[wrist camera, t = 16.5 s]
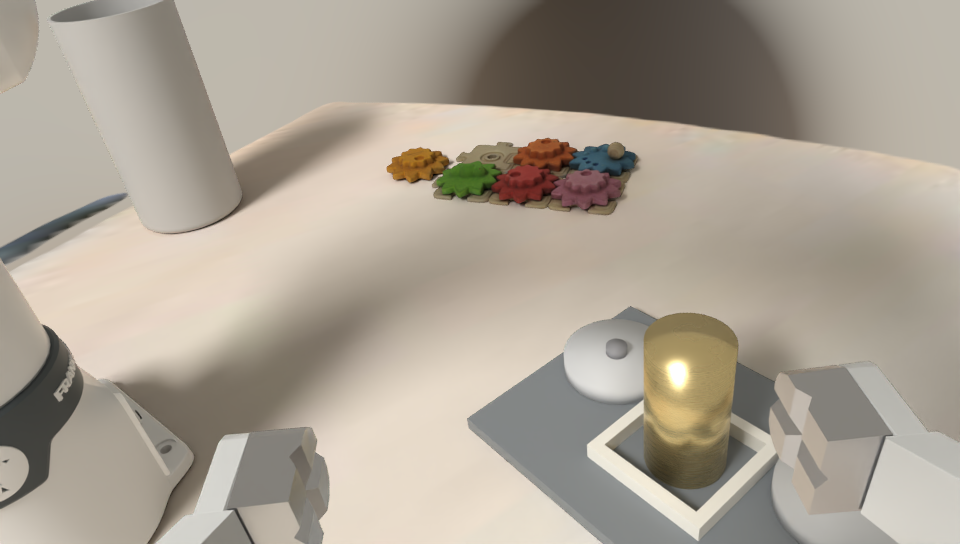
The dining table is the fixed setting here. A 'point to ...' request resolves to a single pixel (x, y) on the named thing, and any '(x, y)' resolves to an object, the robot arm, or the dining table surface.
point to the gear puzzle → (526, 174)
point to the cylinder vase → (150, 110)
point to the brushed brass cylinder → (688, 398)
